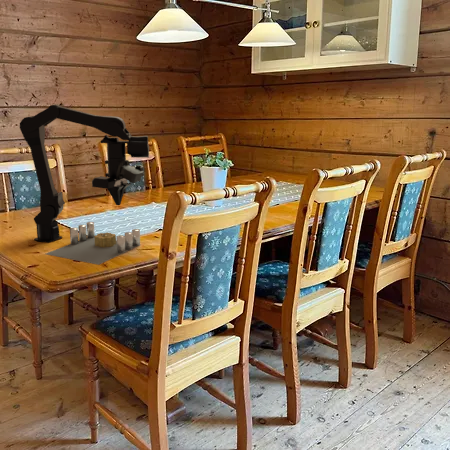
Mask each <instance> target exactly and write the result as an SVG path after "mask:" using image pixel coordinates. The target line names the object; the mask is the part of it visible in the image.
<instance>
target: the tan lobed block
mask: <svg viewBox="0 0 450 450" xmlns="http://www.w3.org/2000/svg"><path fill="white" fill-rule="evenodd" d="M94 238H95V246H99V247H103V248H104V247H111V246H114V245H115V244H116V241H117V235H116V233H112V232H104V233H103V232H101V233H97V234H95V236H94Z"/></svg>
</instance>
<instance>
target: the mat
mask: <svg viewBox="0 0 450 450" xmlns="http://www.w3.org/2000/svg"><path fill="white" fill-rule="evenodd" d="M78 242H79V244H77V245H71V243H68V244H66V245H64V246H61V247H59V248H56V249H54V250H52V251H48V252H46V253H45V255H48V256H51V257H52V256H53V257H58V258H64V259H67V260H73V261H76V262H77V261H78V262H83V263H87V264H92V265H98V266H99V265H102V264H103V263H106V262H108V261H110V260H111V259H114V258H116V257H119V256H120V255H123V254H124V253H117V240H116V244H115V245H114V246H111V247H104V248H103V247H99V246H95V238H87V241H83V242H81V241H79V240H78ZM137 247H138V246H133V249H136V248H137ZM129 251H130V250H126V249H125V253H126V252H129Z"/></svg>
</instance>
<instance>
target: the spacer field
mask: <svg viewBox="0 0 450 450" xmlns="http://www.w3.org/2000/svg"><path fill="white" fill-rule="evenodd" d="M69 235H70V244H71V245H77V244H79V242H78V241H81V242H83V241H87V238H94V236H95V235H96V233H95V222H93V221H87V222H86V224H79V225H78V226H77V227H70V228H69ZM116 241H117V253H123V254H126V252H125V249H126V250H129V251H131V250H133V249H134V248H133V246H137V247H140V246H141V229H138V228H134V229H132V230H131V231H126V232H124V235H119V234H118V235H116Z"/></svg>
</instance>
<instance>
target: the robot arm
mask: <svg viewBox="0 0 450 450" xmlns="http://www.w3.org/2000/svg"><path fill="white" fill-rule="evenodd" d="M56 119H59V120H62V121H66V122H71V123H75V124H78V125H81V126H87V127H91V128H94V129H96V130H98V131H99V132H102V133H104V134H106V135H104V136H103V138H102V139H101V140H100V142H99V143H100V144H106V152H107V154H106V155H107V159H106V160H104V165H107V172H105V174H104V175H105V176H97V177H94V178H93V179H92V180H91V187H92V188H100V189H107V191H108V193H109V194H110V196H111V198H112V199H113V202H114V204H115V205H116V206H121V204H122V201H123V200H122V199H123V197H124V194H125V191H126V188H128V187H129V186H131V184H136V183H137V182H141V180H142V177H144V176H145V169H144V166H143V165H141V164H139V165H136V166H131V165H130V160H129V159H128V160H127V159H126V158H127V155H128V156H130V157H131V158H136V159H137V158H141V159H142V158H143V159H144V158H146V159H148V158H150V145H149V136H148V135H143V136H139V135H137V136H134V135H132V134H131V133H130V131H129V130H128V129H127V128H126V122H125V121H124V119H123V118H121V116H120V117H119V116H115V115H114V116H111V115H98V114H97V115H96V114H92V113H89V112H84V111H80V110H77V109H73V108H70V107H64V106H61V104H51V105H50V106H48V108H46V109H44V110H42V111H41V112H39V113H37V114H35V115H31V116H26V117H24V118H22V119H21V120H20V122H19V130H20V132H21V134H22V137H23V139H24V140H25V142H26V144H27V145H28V147H29V148H30V153H31V158H32V162H33V166H34V169H35V173H36V177H37V181H38V185H39V189H40V194H39V195H40V196H39V207H40V212H38V213H37V214H36V215H35V217H34V218H33V221H34V224H35V227H36V235H37V237H35V238H34V237H33V241H36V242H41V243H47V244H49V243H52V242H55V241H58V240H61V239H63V236H62V235H60V227H59V221H58V220H56V219H57V218H58V217H59V215H60V214H61V213H62V211H63V210H64V206H65V204H66V202H65V200H64V197H63V192H62V191H59V192H58V191H57V189H56V187H55V183H54V180H53V176H52V171H51V167H50V163H49V159H48V154H47V151H46V146H45V140H46V128H45V127H46V126H48V125H50V124H51V123H52V122H54V121H55V120H56ZM108 135H109V136H110V137H109V136H108ZM119 139H121V140H119ZM126 152H127V155H126Z"/></svg>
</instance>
